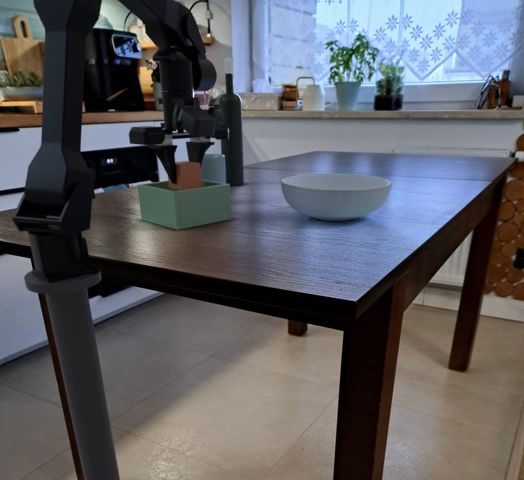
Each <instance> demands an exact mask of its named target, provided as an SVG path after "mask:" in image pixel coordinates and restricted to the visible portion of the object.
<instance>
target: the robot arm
mask: <svg viewBox="0 0 524 480" xmlns="http://www.w3.org/2000/svg"><path fill="white" fill-rule="evenodd" d="M117 1H118V2H119V3H120V4H121V5H122V6H124V7H125V8H126V9H127V10H128V11H130V12H131V14H133V15H134V16H135V17H136V18H137V19H138V20H140V21H141V23H142V24H143V25H144V34H145V35H146V36H147V37H148V38H149V40H150V41H151V42H152V43H153V44H154V46H155V47H156V48H157V50H156V51H155V53H153V55H152V57H151V60H152V61H153V62H156V63H157V62H158V69H159V78H160V79H159V80H160V90H161V97H157V101H158V105H162V113H163V114H162V115H163V122H160V126H155V125H154V126H153V125H151V126H150V125H145V126H143V125H142V126H131V127H130V129H129V132H128V139H129V144H130V145H140V146H147V148H148V149H152V150H153V152H154V154H155V155H156V158H158V160H159V162H160V163H161V165H162V168H163V169H164V171H165V173H166V175H167V178H168V177H169V179H170V180H171V182H172V183H173V184H176V181H177V174H176V164H175V162H176V151H177V149H178V145H177V144H173V140H183V139H189V141H185V147H186V152H187V153H186V154H187V159H188V160H187V161H189V162H197V163H200V168H201V164H202V161H203V158H204V155H205V154H206V152H207V151H208V150H209V148H210V147H211V146H214V145H216V144H215V143H216V142H215V141H211V139H215V140H217V141H221V140H223V139H229V130H228V128H227V126H226V124H225V123H222V122H223V115H222V109H221V108H219V106H217V105H216V106H209V107H208V108H206V109H203V108H201V105H200V104H201V103H200V99H199V97H198V96H197V97H195V92H201V93H202V92H205V93H206V92H208V91H211V90H212V89H213V88H214V87H215V85H216V83H217V80H218V79H217V78H218V72H217V69H216V67H215V65H214V63H213V62H212V61H211V60H209V59H208V58H207V49H206V46H205V44H204V40H203V37H202V35H201V32H200V29H199V25H198V23H197V20H196V18H195V16H194V15H193V12H192V11H191V10H190V9H189V8H188V7H187V6H185V5H184V4H183V3H181V2H180V1H177V0H117ZM32 2H33V3H32V4H33V8H34V9H35V12H36V14H37V17H38V18H39V20H40V22H41V24H42V26H43V29H44V54H43V55H44V56H43V81H42V82H43V84H42V88H43V89H42V110H41V111H42V112H41V138H40V139H41V141H40V145H39V148H38V150H37V151H36V152H35V154H34V156H33V157H32V159H31V161H30V163H29V164H28V167H27V171H26V172H27V173H26V176H25V177H26V178H25V184H24V192H23V194H22V196H21V197H20V200H19V202H18V204H17V206H16V208H15V211H14V213H13V215H12V217H11V219H12V222H13V223H14V225H15V227H16V229H17V231H18V232H22V233H24V232H25V233H26V232H27V236H28V240H29V245H30V250H31V254H32V259H33V263H34V268H33V269H31V271H32V273H33V274H34V275H36V276H38V277H40V278H41V279H43V280H45V281H46V282H48V283H52V282H57V281H61V280H65V279H70V278H74V277H78V276H82V275H87V274H91V273H93V269H91V268H89V266H91V259H90V254H89V248H88V247H89V246H88V242H87V238H86V237H84V236H83V233H82V232H86V231H89V230H90V228H91V221H92V220H91V219H92V206H93V205H92V204H93V200H95V199H96V193H95V184H96V183H95V182H96V177H97V174H96V171H95V169H94V167H93V168H92V167H88V165H87V162H86V161H85V159H84V157H83V155H82V151H81V150H82V130H83V129H82V128H83V107H84V88H85V67H86V66H85V65H86V46H87V45H86V44H87V39H88V37H89V36H90V34H91V33H92V31H93V29H94V28H95V26H96V24H97V23H98V21H99V19H100V14H101V10H102V9H101V8H102V3H103V0H33V1H32Z"/></svg>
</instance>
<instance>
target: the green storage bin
mask: <svg viewBox="0 0 524 480" xmlns="http://www.w3.org/2000/svg"><path fill="white" fill-rule="evenodd" d="M136 186H137V192H138V201H139V209H140V210H139V211H140V218H141V220H142V221H145V222H149V223H152V224H155V225H159V226H163V227H166V228H169V229H173V230H176V231H179V230H184V229H189V228H194V227H200V226H205V225H209V224H214V223H219V222H224V221H229V220H232V204H231V186H230V184H226V183H220V182H214V181H207V180H201V188H194V189H187V190H179V189H173V188H169V182H168V180H163V181H157V182H149V183H141V184H137V185H136Z"/></svg>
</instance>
